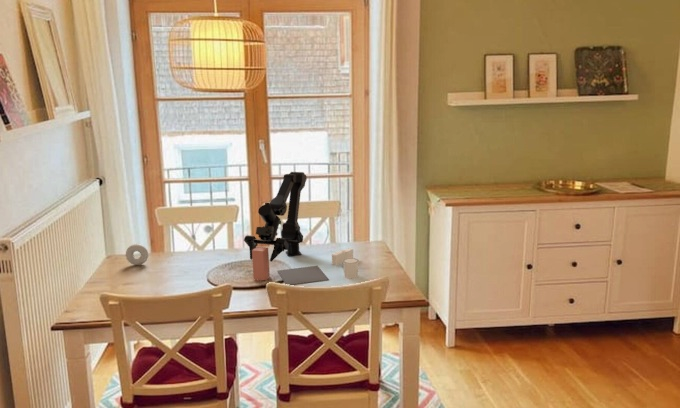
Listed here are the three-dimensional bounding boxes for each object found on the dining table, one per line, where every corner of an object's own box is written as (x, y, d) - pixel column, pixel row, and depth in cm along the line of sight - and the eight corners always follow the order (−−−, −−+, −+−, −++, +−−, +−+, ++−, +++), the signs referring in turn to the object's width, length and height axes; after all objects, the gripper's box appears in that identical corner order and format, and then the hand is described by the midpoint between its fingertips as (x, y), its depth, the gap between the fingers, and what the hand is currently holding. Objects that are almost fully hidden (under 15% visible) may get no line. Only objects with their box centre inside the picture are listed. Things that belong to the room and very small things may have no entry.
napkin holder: (331, 268, 257) (330, 256, 256) (325, 260, 268) (324, 248, 266) (363, 265, 261) (363, 253, 259) (356, 257, 271) (356, 245, 270)
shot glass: (345, 280, 242) (345, 264, 240) (341, 274, 248) (340, 258, 247) (361, 278, 244) (361, 262, 242) (356, 272, 250) (356, 257, 249)
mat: (277, 271, 254) (277, 270, 254) (317, 266, 259) (317, 265, 259) (286, 285, 237) (286, 284, 237) (329, 280, 242) (328, 279, 242)
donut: (150, 263, 268) (148, 242, 266) (148, 265, 265) (146, 244, 262) (127, 264, 267) (125, 243, 265) (125, 266, 264) (123, 245, 261)
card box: (259, 275, 249) (257, 246, 246) (269, 276, 247) (268, 247, 244) (253, 279, 244) (251, 250, 241) (264, 281, 243) (262, 251, 240)
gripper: (244, 217, 248) (233, 249, 241) (284, 219, 242) (274, 253, 235) (254, 230, 257) (243, 261, 250) (293, 233, 251) (283, 265, 244)
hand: (260, 260), depth 244 cm, fingers open, 9 cm apart
